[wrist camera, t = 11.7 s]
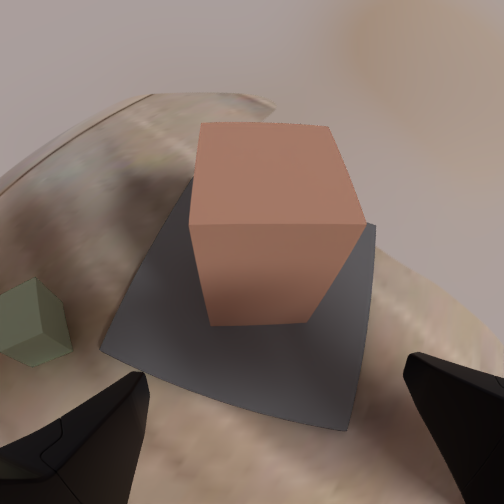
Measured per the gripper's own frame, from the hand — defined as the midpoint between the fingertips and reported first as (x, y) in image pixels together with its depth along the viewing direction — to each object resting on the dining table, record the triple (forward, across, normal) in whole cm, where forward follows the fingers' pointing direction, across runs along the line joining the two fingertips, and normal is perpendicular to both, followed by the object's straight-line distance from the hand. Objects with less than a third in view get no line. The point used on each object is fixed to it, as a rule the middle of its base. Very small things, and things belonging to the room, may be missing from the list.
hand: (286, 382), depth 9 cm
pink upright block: (+11, 0, 0) cm, 11 cm away
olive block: (+9, +15, +4) cm, 18 cm away
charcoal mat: (+11, 0, +1) cm, 11 cm away
